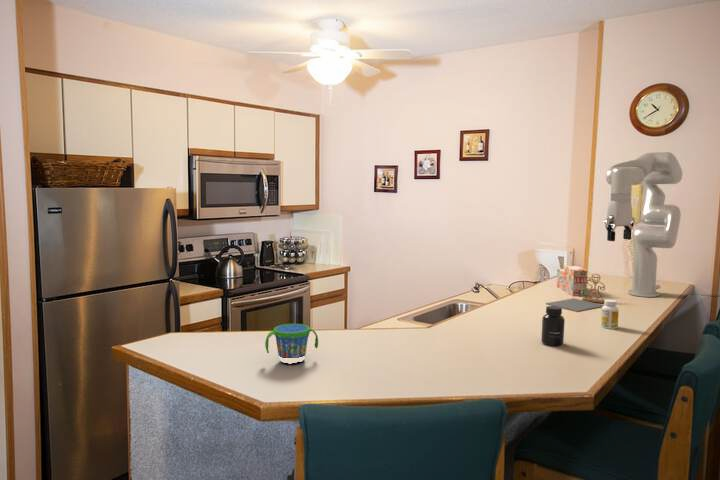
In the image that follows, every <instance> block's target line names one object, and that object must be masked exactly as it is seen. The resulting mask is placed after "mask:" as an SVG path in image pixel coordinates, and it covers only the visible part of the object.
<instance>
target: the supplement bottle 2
mask: <svg viewBox="0 0 720 480" xmlns="http://www.w3.org/2000/svg"><path fill="white" fill-rule="evenodd" d="M604 300H605V301H604V303H603V305H605V306H603V307H601V323H600V324H601V327H602V328H604V329H609V330H615V329H618V327H619V313H620V312H619V307H618V306H617V304H618V301H617V300H614V299H604Z"/></svg>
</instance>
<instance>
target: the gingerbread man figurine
mask: <svg viewBox="0 0 720 480" xmlns="http://www.w3.org/2000/svg"><path fill="white" fill-rule="evenodd" d="M595 275H597V276H595ZM586 282H587V286H588V285H589V286H591V287H590V291H589V292H588V293H587V294H586V296H585V297H583V298H581V300H584V301H588V302H593V303H598V304H604V301H605V300H606V299H603V296H602V294H601V293H600V291H605V290H606V287H605V284H604V283H603V282H601V276H600V274H598V273H594V274H592V275H591V277H590V276H587V278H586ZM589 282H590V283H591V282H592V283H593V284H590V283H589ZM598 283H599V284H601V285H602V286H601V285H598ZM593 285H594V289H593ZM597 285H598V286H597ZM599 290H600V291H599ZM592 291H594V292H593V293H592ZM595 291H596V292H597V293H598V294H599V296H597V294H596V292H595ZM591 293H592V295H590V294H591ZM594 296H595V297H596V298H592V297H594Z"/></svg>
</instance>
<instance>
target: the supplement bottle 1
mask: <svg viewBox="0 0 720 480" xmlns="http://www.w3.org/2000/svg"><path fill="white" fill-rule="evenodd" d="M562 314H563V308H561V307H557V306H551V305H547V306H546V307H545V314H543V316H542V318H541V319H542V320H541V321H542V322H541V336H540V337H541V340H540V341H541V343H542V344H543V345H544V346H545V345H546V346H548V345H549V347H561V346H563V345H564V341H565V321H566V320H565V318H564V316H563V315H562Z"/></svg>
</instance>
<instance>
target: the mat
mask: <svg viewBox="0 0 720 480" xmlns="http://www.w3.org/2000/svg"><path fill="white" fill-rule="evenodd" d="M545 305H547V306H557V307H561V308H562V310H563V309H564V310H568V311H572V312H576V313H579V312H583V311H588V310H594V309H599V308H602V307H603V306H605V304H603V303H598V302H591V301H584V300H582V299H577V298H568V299H567V298H566V299H563V300H562V299H561V300H557V301H549V302H545ZM578 311H579V312H578Z"/></svg>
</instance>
